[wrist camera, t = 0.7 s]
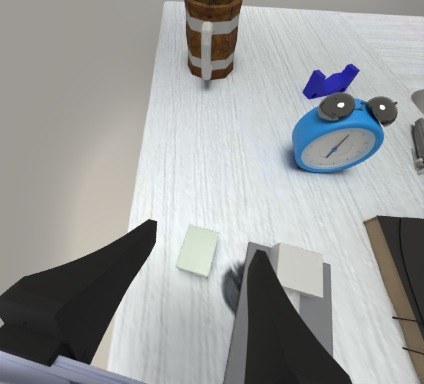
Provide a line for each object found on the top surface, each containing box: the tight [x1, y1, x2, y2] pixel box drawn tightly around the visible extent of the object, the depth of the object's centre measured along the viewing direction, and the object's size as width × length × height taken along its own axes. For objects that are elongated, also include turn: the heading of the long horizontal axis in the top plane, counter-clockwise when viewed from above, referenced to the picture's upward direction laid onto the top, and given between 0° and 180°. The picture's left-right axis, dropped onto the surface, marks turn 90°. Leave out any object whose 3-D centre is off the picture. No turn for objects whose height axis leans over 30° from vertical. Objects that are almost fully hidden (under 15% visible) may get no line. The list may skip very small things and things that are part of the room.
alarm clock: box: [292, 92, 398, 172], centre depth 33 cm, size 13×6×15 cm, turn 85°
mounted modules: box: [269, 243, 323, 298], centre depth 23 cm, size 20×6×4 cm, turn 165°
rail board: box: [224, 242, 333, 384], centre depth 25 cm, size 20×13×1 cm, turn 165°
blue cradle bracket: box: [303, 64, 360, 99], centre depth 49 cm, size 12×4×6 cm, turn 109°
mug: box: [184, 0, 242, 80], centre depth 47 cm, size 20×14×15 cm
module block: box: [175, 224, 219, 278], centre depth 28 cm, size 6×4×5 cm
